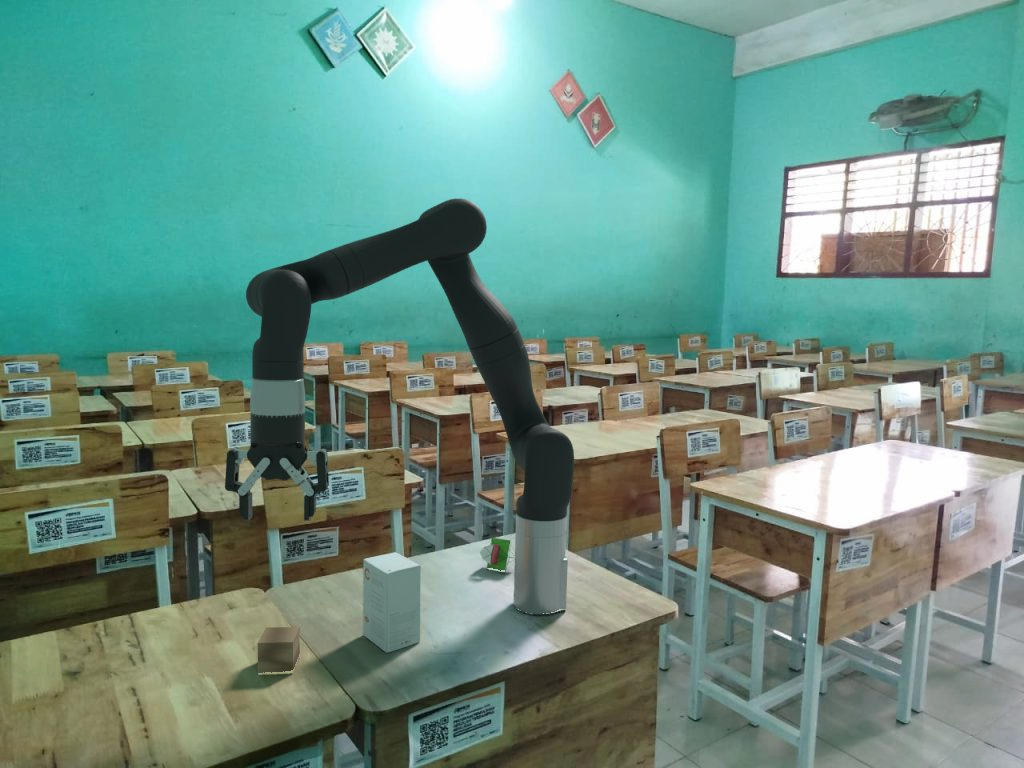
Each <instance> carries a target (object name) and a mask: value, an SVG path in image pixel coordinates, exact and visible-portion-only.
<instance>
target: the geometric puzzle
mask: <svg viewBox="0 0 1024 768" xmlns="http://www.w3.org/2000/svg"><path fill="white" fill-rule="evenodd" d="M511 542H512V540H510V539H509V540H508V539H505V538H504V539H502V538H497V537H491V538H490V544H489V545H485V546H484V547H483V548H482V549H481V550H480V551H479V553H480V556H481V558H482V561H483V563H484V561H485V562H486V563H487V564H486V569H487V568H493V569H498V570H500V571H501V570H505V571H507V568H508V566H509V565H508V564H510V563H512V562H515V559H514V557H512V556H511V554H512V555H514V553H512V551H511V549H510V546H511ZM512 550H513V551H515V548H512ZM509 553H510V554H509ZM510 559H512V560H511V561H510Z"/></svg>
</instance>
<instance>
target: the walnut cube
mask: <svg viewBox="0 0 1024 768" xmlns="http://www.w3.org/2000/svg"><path fill="white" fill-rule="evenodd" d="M300 629H301V627H300V626H281V627H280V626H274V627H272V626H271V627H265V628H264V629H263V632H262V634H261V636H260V638H259V640H258V641H257V674H258V673H263V672H264V673H265V672H271V673H272V672H283V671H284V672H285V671H291V670H293V669H294V667H295V664H296V662H297V659H298V657H299V654H300V655H301V647H300V646H301V645H300V644H301V643H300V641H301V640H300V639H301V637H300V636H301V635H300V634H301V633H300V631H301V630H300Z"/></svg>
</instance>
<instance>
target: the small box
mask: <svg viewBox="0 0 1024 768" xmlns="http://www.w3.org/2000/svg"><path fill="white" fill-rule="evenodd" d="M362 562H363V568H362V569H363V573H362V574H363V575H362V576H363V578H362V579H363V580H362V584H363V585H362V586H363V587H362V589H363V590H362V636H364V637H365V638H366V639H368V640H370V641H371V642H372V643H373V644H374V645H376V646H377V647H378V648H380V649H381V650H382V651H384V652H385V653H386V654H387V653H391V652H395V651H397V650H400V649H405V648H406V647H410V646H413V645H415V644H418V643H420V642H421V568H422V567H421V564H419V563H416V562H415V561H413V560H412V559H409V558H407V557H406V556H403V555H402V554H400V553H398V552H395V551H394V552H389V553H385V554H380V555H376V556H371V557H367V558H363V561H362Z"/></svg>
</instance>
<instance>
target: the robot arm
mask: <svg viewBox="0 0 1024 768" xmlns="http://www.w3.org/2000/svg"><path fill="white" fill-rule="evenodd" d="M486 219H487V218H486V217H485V214H484V212H483V211H482V209H481V208H480V207H479V206H478V205H477V204H476V203H474V202H472V201H471V200H468V199H464V198H451V199H447V200H445V201H442V202H440V203H439V204H436V205H434V206H432V207H430V208H428V209H426V210H425V211H424V212H422V213H421V214H420V216H419V217H418V219H416V220H414V221H412V222H410V223H407V224H404V225H402V226H399V227H397V228H396V227H395V228H393V229H391V230H388V231H387V230H386V231H385V232H384V231H383V232H381V233H378V234H375V235H372V236H368V237H364V238H361V239H358V240H355V241H351V242H348V243H345V244H343V245H340V246H336V247H334V248H331V249H328V250H325V251H323V252H320V253H319V254H316V255H314V256H312V257H309V258H307V259H303V260H299V261H295V262H291V263H288V264H287V263H286V264H284V265H280V266H277V267H273V268H270V269H267V270H263V271H261V272H260V273H258V274H256V275H255V276H254V277H252V278H251V280H250V281H249V282H248V285H247V287H246V290H245V298H246V303H247V305H248V306H249V308H250V310H252V312H254V314H256V315H257V316H259V317H261V323H260V335H259V338H258V339H256V340H255V341H254V343H253V347H252V354H251V355H252V357H251V358H252V361H251V362H252V363H251V364H252V366H251V367H252V370H251V371H252V375H251V377H252V380H251V388H250V402H249V410H250V415H249V416H250V422H249V423H250V431H249V432H250V434H249V435H250V441H249V442H250V446H249V449H241V448H239V447H232V448H231V449H230V450H228V451H227V452H226V461H225V462H226V463H225V481H224V482H225V483H224V489H225V491H227V492H233V493H235V494H237V495H238V501H239V503H238V505H239V506H238V510H239V511H238V513H239V516H240V517H243V521H246V522H247V521H250V520H251V519H252V518H253V492H251V490H252V488H253V487H254V486H255V484H256V483H257V482H258V481H259V480H260V479H261V478H263V479H264V480H265V481H273V480H276V479H277V480H281V481H288V480H290V479H292V480H293V481H294V483H295V484H296V485H297V486H299V487H300V489H301V490H302V492H303V493H304V497H303V521H304V522H305V521H306V522H307V521H310V520H311V519H312V518H313V517H314V516H315V514H316V512H317V494H319V493H324V492H325V491H326V490H327V489H328V487H329V485H330V478H329V475H330V474H329V462H328V461H329V459H328V457H329V456H328V449H326V448H320V449H319V450H308V449H307V447H306V389H305V383H304V381H305V379H304V371H305V369H304V368H305V367H304V364H305V363H304V347H305V342H306V339H307V335H308V330H309V324H310V321H311V320H310V319H311V313H312V304H315V303H318V302H321V301H322V302H323V301H329V300H335V299H339V298H341V297H345V296H347V295H351V294H352V293H355V292H358V291H360V290H363V289H365V288H367V287H371V286H372V285H375V284H376V283H379V282H381V281H383V280H385V279H387V278H389V277H391V276H393V275H395V274H398V273H399V272H402V271H404V270H407V269H408V268H411V267H414V266H415V265H419V264H422V263H424V262H427V263H428V264H429V266H430V268H431V270H432V271H433V273H434V275H435V276H436V279H437V280H438V282H439V285H440V286H441V288H442V290H443V292H444V293H445V296H446V298H447V300H448V302H449V304H450V307H451V309H452V312H453V314H454V317H455V318H456V321H457V323H458V325H459V328H460V330H461V331H462V334H463V337H464V338H465V341H466V345H467V346H468V349H469V351H470V353H471V356H472V359H473V360H474V363H475V365H476V368H477V369H478V373H480V377H481V378H482V380H483V382H484V384H485V386H486V388H487V391H488V393H489V394H490V396H491V398H492V400H493V402H494V404H495V407H496V408H497V409H498V410H497V411H498V413H499V415H500V418H501V420H502V425H503V427H504V430H505V434H506V437H507V439H508V443H509V447H510V450H511V453H512V456H513V459H514V461H515V462H516V464H517V465H518V466H519V468H521V469H522V470H524V480H523V481H524V482H523V483H524V484H523V492H522V494H521V495H519V496H518V498H517V500H516V506H515V507H516V508H515V509H516V511H515V541H514V543H515V544H514V572H513V573H514V575H513V579H514V580H513V585H514V586H513V606H514V607H516V608H517V610H518V609H519V610H521V611H520V612H522V611H523V612H522V613H524V612H527V613H526V614H528V613H532V614H531V615H533V614H543V613H544V614H546V613H551V612H555V611H557V610H559V609H566V610H567V597H568V596H567V594H568V593H567V591H568V567H569V565H568V564H569V561H568V559H567V557H566V553H567V552H566V550H567V547H566V546H567V519H568V518H567V517H568V507H569V505H570V503H571V499H572V495H573V484H574V483H573V482H574V472H575V471H574V470H575V468H574V467H575V451H574V446H573V443H572V441H571V439H570V438H569V437H568V436H567V435H566V434H565V433H563V432H561V431H560V430H558V429H556V428H553V427H551V426H550V424H549V422H548V421H547V419H546V417H545V415H544V413H543V412H542V410H541V408H540V405H539V404H538V402H537V399H536V395H535V393H534V388H533V383H532V373H531V372H532V371H531V364H530V359H529V353H528V351H527V348H526V344H525V342H524V339H523V337H522V335H521V332H520V330H519V328H518V324H517V322H516V321H515V319H514V317H513V316H512V314H511V313H510V311H508V309H507V308H506V306H504V304H503V303H502V302H501V301H500V300H499V299H498V298H497V297H496V296H495V295H494V294H493V293H492V292H491V290H490V289H488V287H487V286H486V285H485V283H484V282H483V280H482V279H481V277H480V276H479V274H478V272H477V270H476V268H475V266H474V263H473V261H472V259H471V255H470V254H471V253H472V252H473V253H474V251H475V250H477V249H478V248H479V247H480V246H481V245H482V243H483V241H484V240H485V238H486V234H487V220H486ZM245 459H247V460H248V461H249V463H250V464H251V466H252V467H253V468H254V469H253V470H252V471H251V472H250V474H249V475H248V476H247V478H246V480H244V482H241V481H240V480H239V478H240V476H239V475H240V465H241V464H242V463H244V461H245ZM308 459H309V460H310V461H311V463H312V465H313V466H316V477H317V482H315V483H314V481H313V480H312V479H311V477H310V475H309V474H308V471H306V469H305V468H304V467H303V465H304V463H305V462H307V460H308ZM516 608H515V609H516ZM519 610H518V611H519Z"/></svg>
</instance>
